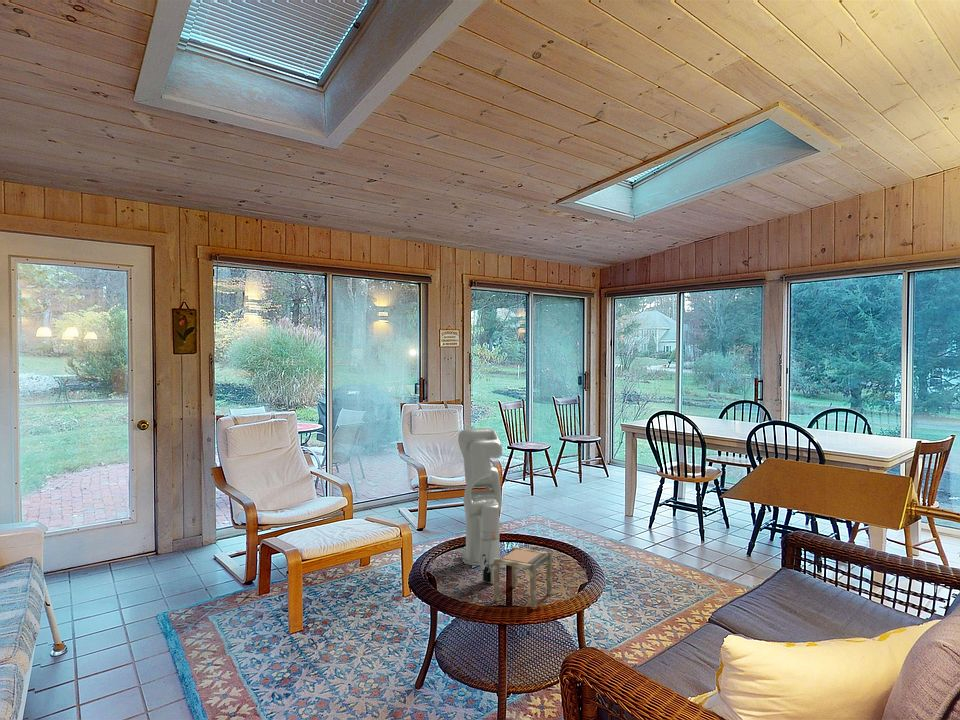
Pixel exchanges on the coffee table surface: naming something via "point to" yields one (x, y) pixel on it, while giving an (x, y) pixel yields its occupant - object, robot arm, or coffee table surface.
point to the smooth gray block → (491, 573)
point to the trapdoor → (523, 556)
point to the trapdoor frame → (532, 568)
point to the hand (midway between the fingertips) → (490, 578)
